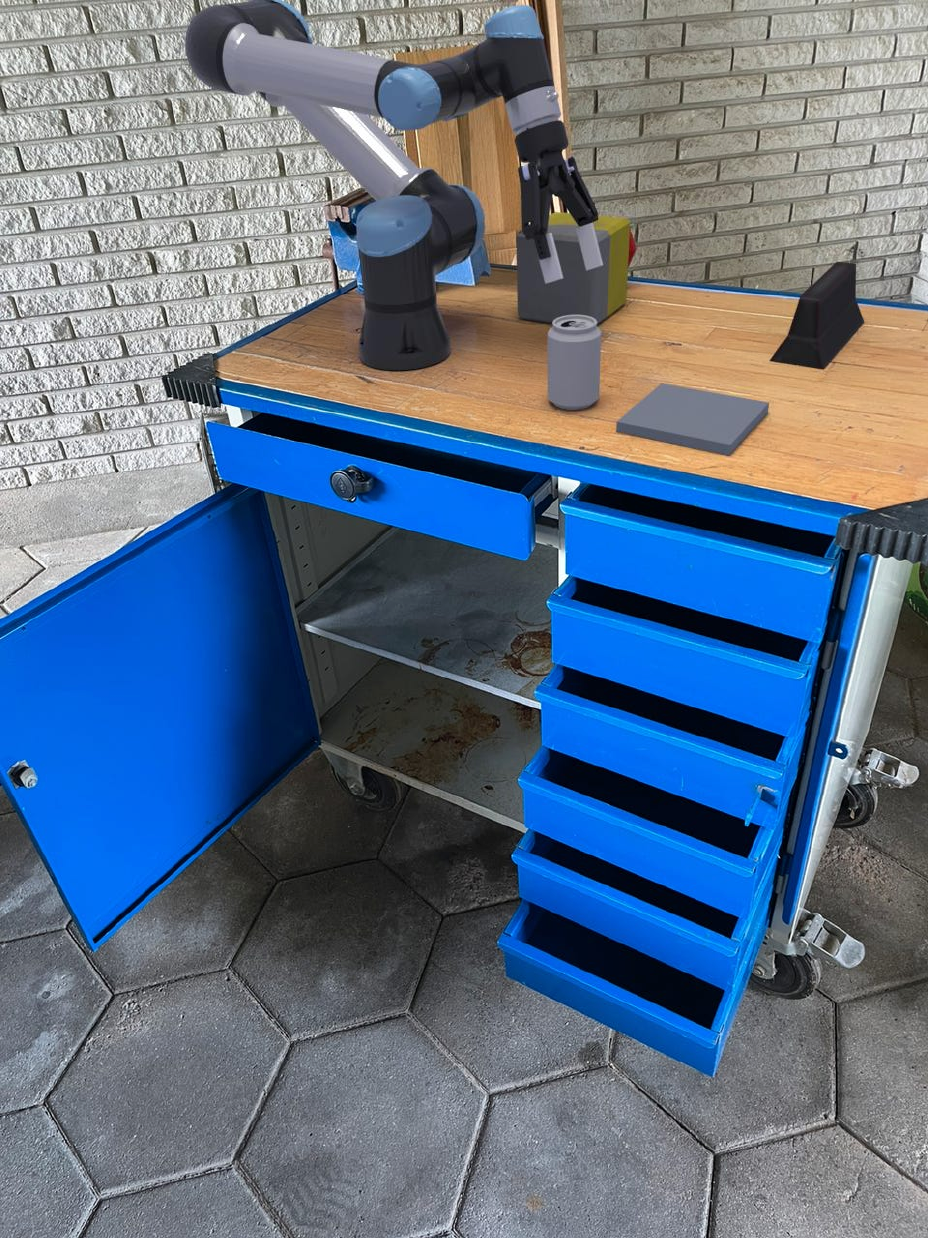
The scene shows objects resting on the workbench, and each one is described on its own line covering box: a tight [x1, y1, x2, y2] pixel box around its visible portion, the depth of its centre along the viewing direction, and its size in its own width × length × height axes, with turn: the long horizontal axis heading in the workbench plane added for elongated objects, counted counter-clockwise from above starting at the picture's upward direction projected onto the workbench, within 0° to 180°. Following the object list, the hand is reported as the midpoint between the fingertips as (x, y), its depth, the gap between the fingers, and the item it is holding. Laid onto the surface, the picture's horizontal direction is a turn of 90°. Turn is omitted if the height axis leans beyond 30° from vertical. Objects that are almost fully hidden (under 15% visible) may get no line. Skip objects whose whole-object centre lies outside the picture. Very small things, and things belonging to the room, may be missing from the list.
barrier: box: [769, 261, 865, 371], centre depth 152 cm, size 24×9×10 cm, turn 147°
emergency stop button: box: [515, 211, 638, 325], centre depth 172 cm, size 15×24×15 cm, turn 149°
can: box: [547, 315, 602, 411], centre depth 137 cm, size 8×8×12 cm
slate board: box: [615, 382, 770, 456], centre depth 132 cm, size 16×15×2 cm
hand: (575, 274), depth 147 cm, fingers open, 13 cm apart
